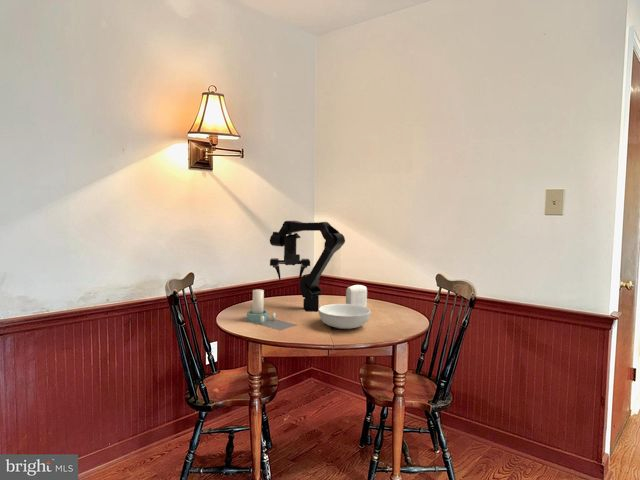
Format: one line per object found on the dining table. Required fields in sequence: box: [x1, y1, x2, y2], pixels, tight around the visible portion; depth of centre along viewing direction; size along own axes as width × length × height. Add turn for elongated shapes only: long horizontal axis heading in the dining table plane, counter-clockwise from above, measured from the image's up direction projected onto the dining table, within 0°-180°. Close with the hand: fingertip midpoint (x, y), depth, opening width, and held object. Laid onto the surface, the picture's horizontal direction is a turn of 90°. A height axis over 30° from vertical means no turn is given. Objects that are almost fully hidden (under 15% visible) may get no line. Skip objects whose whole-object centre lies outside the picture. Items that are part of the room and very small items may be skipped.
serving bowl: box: [317, 303, 371, 330], centre depth 177 cm, size 21×21×7 cm
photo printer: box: [345, 284, 368, 308], centre depth 199 cm, size 10×4×12 cm, turn 123°
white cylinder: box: [251, 288, 265, 314], centre depth 182 cm, size 4×4×12 cm
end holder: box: [246, 309, 269, 323], centre depth 182 cm, size 9×9×3 cm
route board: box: [239, 312, 297, 331], centre depth 179 cm, size 23×10×4 cm, turn 52°
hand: (289, 280), depth 209 cm, fingers open, 9 cm apart
